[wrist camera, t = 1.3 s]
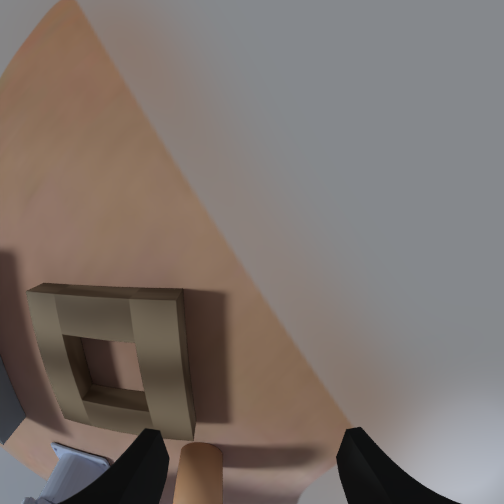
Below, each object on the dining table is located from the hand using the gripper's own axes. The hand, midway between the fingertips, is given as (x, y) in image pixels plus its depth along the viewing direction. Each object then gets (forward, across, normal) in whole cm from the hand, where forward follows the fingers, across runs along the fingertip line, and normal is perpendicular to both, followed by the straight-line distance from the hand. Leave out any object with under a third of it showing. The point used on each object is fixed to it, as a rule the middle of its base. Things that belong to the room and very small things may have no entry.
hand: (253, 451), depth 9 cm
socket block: (+10, +11, +3) cm, 15 cm away
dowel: (+9, +5, +14) cm, 18 cm away
